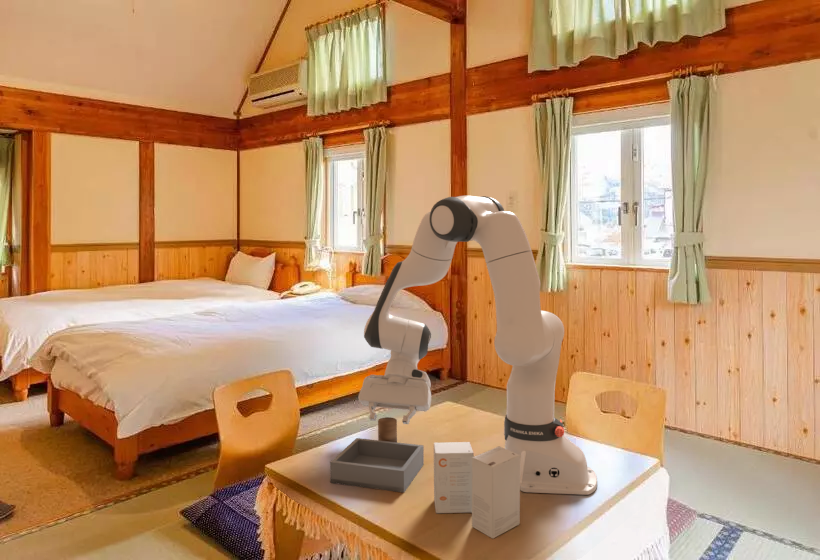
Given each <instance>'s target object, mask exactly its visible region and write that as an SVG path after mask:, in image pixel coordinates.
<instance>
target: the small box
mask: <svg viewBox="0 0 820 560" xmlns="http://www.w3.org/2000/svg"><path fill="white" fill-rule="evenodd" d="M474 456H475V453H474V450H473V448H472V445H471V441H460V442H459V441H455V442H454V441H453V442H452V441H451V442H450V441H448V442H446V441H445V442H433V500H434V509H435V514H453V513H454V514H458V513H462V514H463V513H466V514H467V513H471V514H472V457H474Z"/></svg>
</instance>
